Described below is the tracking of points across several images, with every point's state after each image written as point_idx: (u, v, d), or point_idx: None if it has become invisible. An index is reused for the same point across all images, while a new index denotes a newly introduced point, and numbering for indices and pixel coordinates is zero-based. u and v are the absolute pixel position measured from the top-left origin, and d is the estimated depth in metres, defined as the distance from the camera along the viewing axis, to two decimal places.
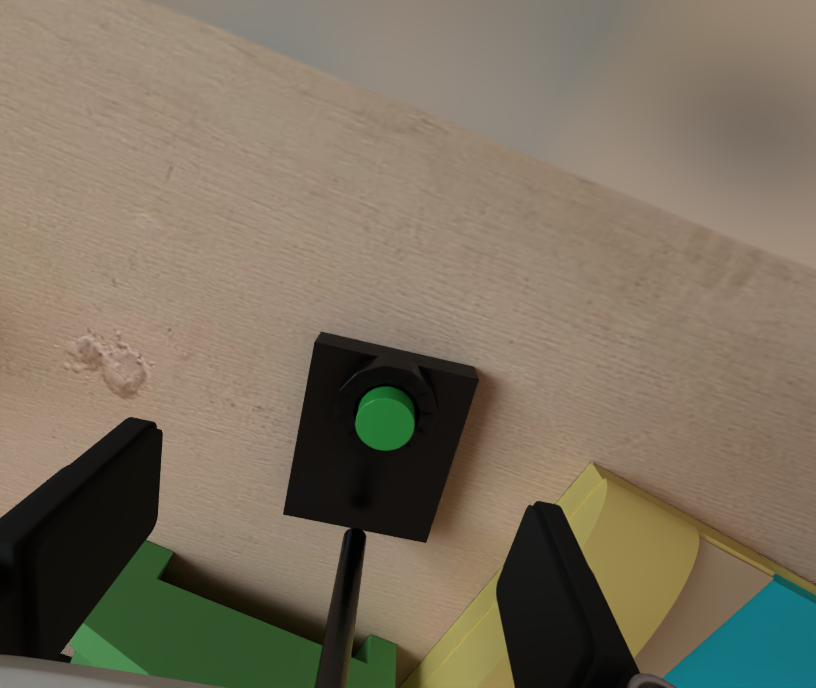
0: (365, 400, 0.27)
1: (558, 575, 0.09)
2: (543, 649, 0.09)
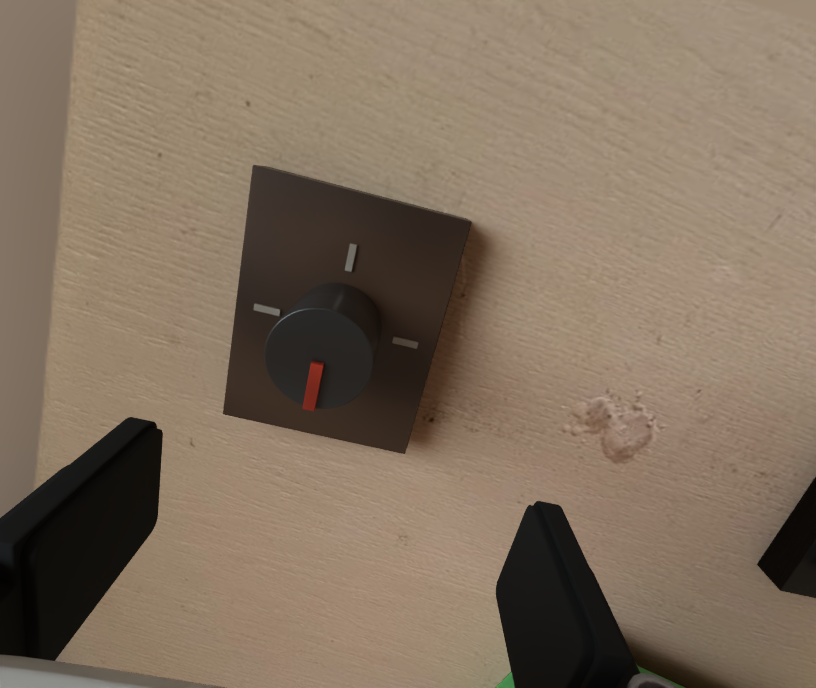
0: None
1: (558, 575, 0.09)
2: (543, 649, 0.09)
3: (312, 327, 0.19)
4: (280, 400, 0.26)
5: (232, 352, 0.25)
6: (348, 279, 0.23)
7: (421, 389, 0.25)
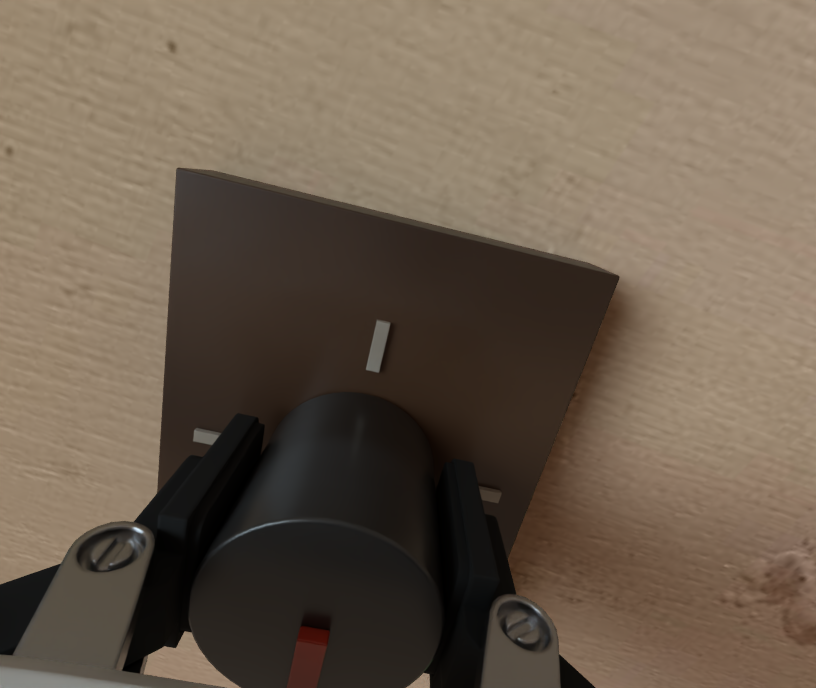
0: None
1: (453, 517, 0.10)
2: None
3: (300, 560, 0.08)
4: None
5: None
6: (372, 384, 0.12)
7: None
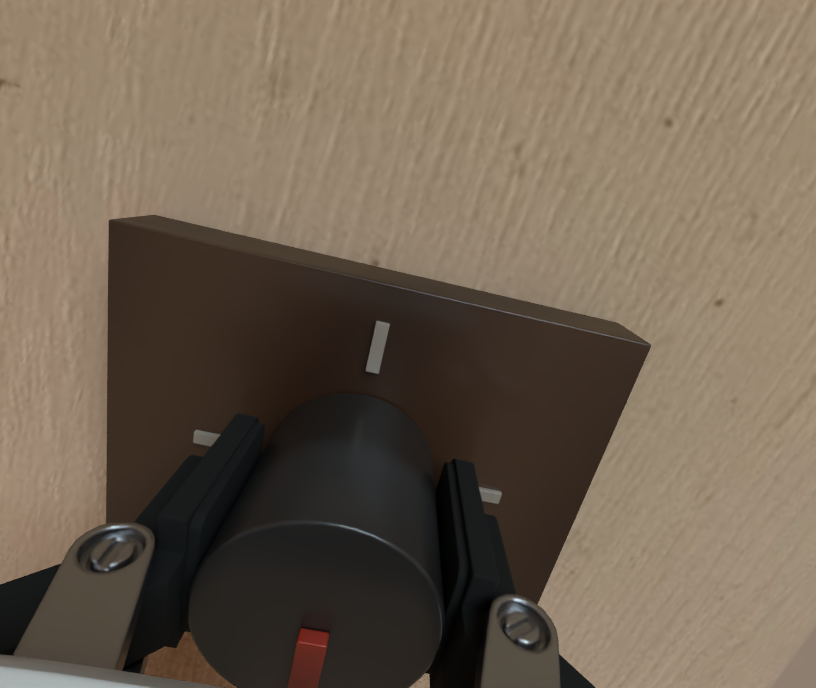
0: None
1: (453, 516, 0.10)
2: None
3: (299, 562, 0.08)
4: (172, 353, 0.12)
5: (273, 263, 0.11)
6: None
7: None
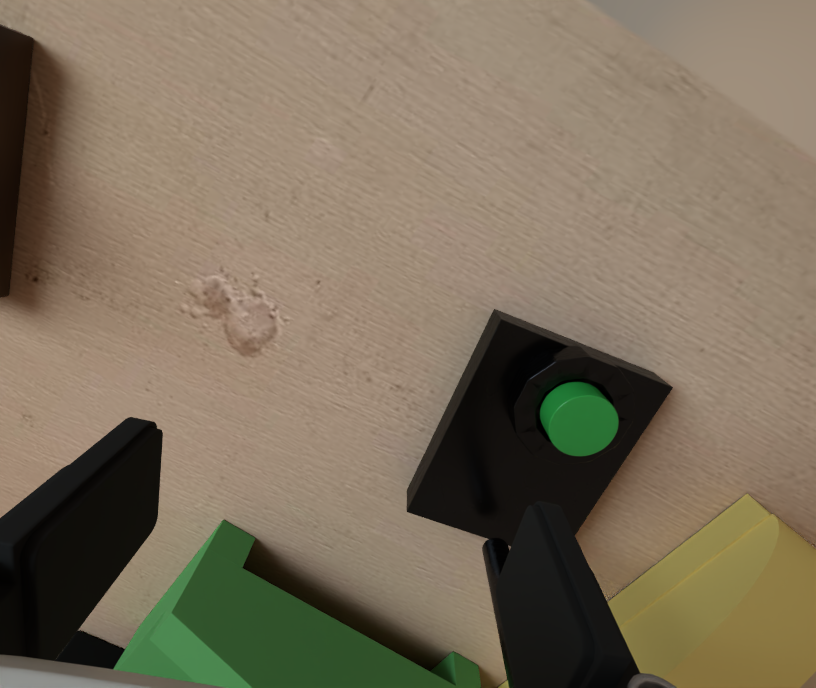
0: (563, 395, 0.23)
1: (558, 575, 0.09)
2: (543, 649, 0.09)
3: None
4: None
5: None
6: None
7: None
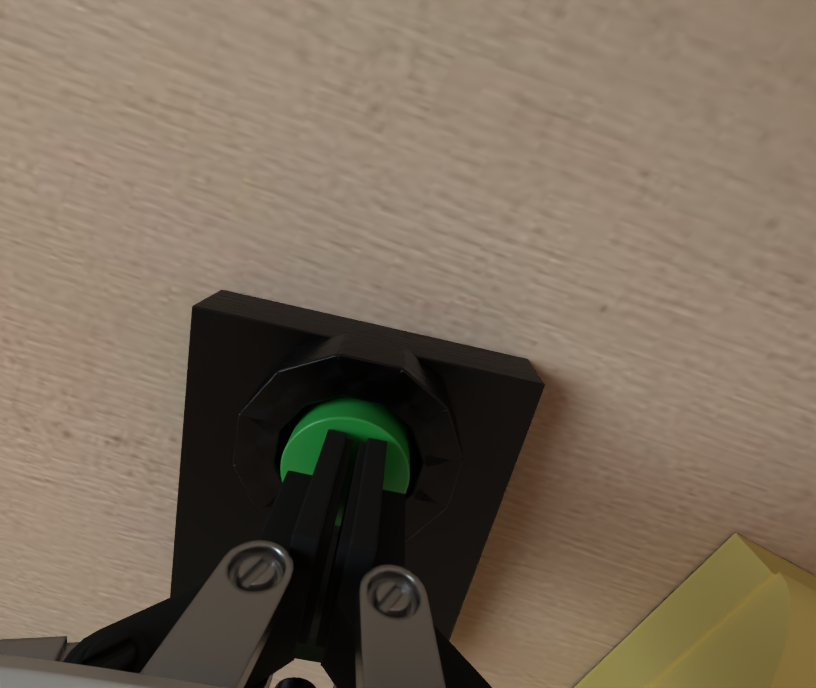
0: (303, 420, 0.13)
1: (350, 491, 0.10)
2: (334, 558, 0.10)
3: None
4: None
5: None
6: None
7: None
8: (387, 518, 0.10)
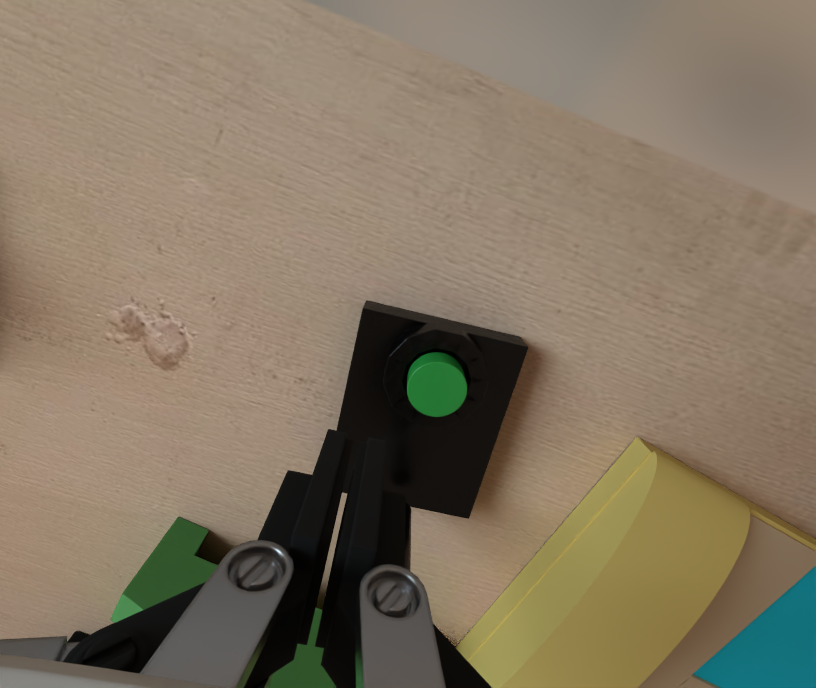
0: (417, 365, 0.27)
1: (349, 491, 0.10)
2: (334, 558, 0.10)
3: None
4: None
5: None
6: None
7: None
8: (387, 518, 0.10)
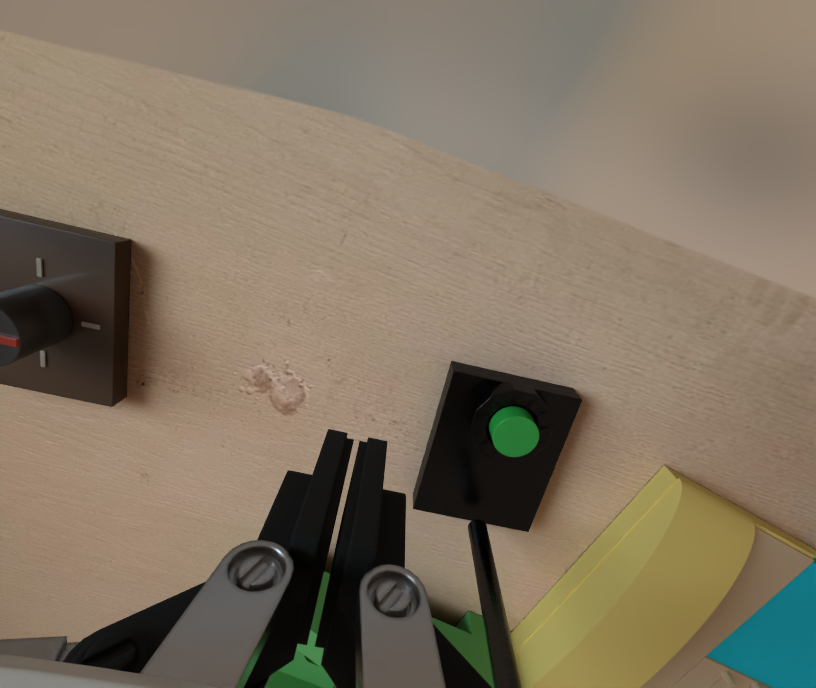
0: (499, 417, 0.35)
1: (349, 491, 0.10)
2: (334, 558, 0.10)
3: None
4: (14, 368, 0.36)
5: None
6: (42, 282, 0.34)
7: (111, 359, 0.36)
8: (387, 518, 0.10)
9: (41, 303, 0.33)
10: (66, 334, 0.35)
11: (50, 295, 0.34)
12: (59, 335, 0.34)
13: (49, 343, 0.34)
